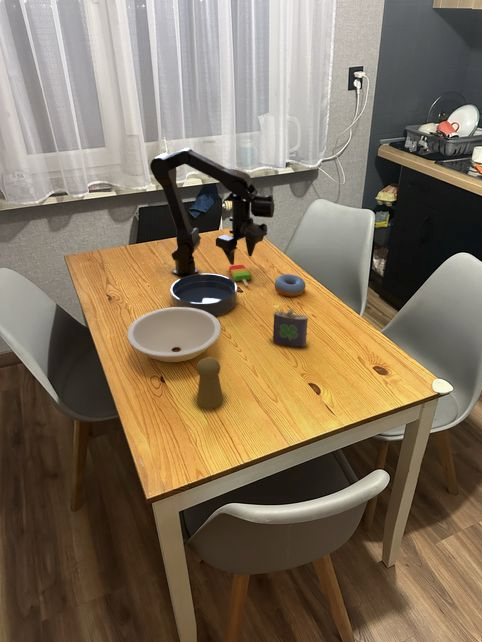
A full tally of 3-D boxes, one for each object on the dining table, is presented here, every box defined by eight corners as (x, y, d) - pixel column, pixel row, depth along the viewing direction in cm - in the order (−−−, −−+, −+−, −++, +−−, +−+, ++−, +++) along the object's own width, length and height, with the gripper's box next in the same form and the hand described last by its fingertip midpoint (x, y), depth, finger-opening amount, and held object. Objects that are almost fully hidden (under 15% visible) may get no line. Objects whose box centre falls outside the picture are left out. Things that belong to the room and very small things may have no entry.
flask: (306, 343, 135) (309, 309, 130) (304, 349, 133) (306, 314, 127) (274, 338, 137) (275, 304, 132) (271, 343, 135) (272, 309, 129)
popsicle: (243, 268, 175) (243, 263, 174) (255, 287, 163) (255, 282, 162) (228, 270, 174) (228, 265, 173) (239, 289, 162) (239, 284, 161)
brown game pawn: (197, 392, 117) (194, 354, 111) (223, 391, 117) (221, 353, 112) (196, 409, 112) (193, 370, 106) (223, 408, 112) (222, 369, 106)
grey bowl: (145, 388, 118) (141, 366, 114) (120, 339, 136) (116, 318, 132) (236, 362, 127) (236, 341, 124) (202, 319, 145) (200, 299, 142)
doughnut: (310, 295, 159) (311, 282, 157) (283, 301, 156) (283, 288, 153) (295, 282, 167) (296, 269, 164) (269, 287, 163) (269, 275, 161)
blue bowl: (158, 303, 153) (156, 289, 150) (204, 281, 166) (203, 268, 164) (205, 326, 142) (204, 310, 140) (250, 300, 156) (250, 286, 153)
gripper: (241, 228, 146) (241, 276, 155) (279, 213, 159) (277, 258, 167) (213, 220, 152) (215, 266, 160) (252, 205, 164) (252, 249, 173)
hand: (241, 260), depth 165 cm, fingers open, 9 cm apart
